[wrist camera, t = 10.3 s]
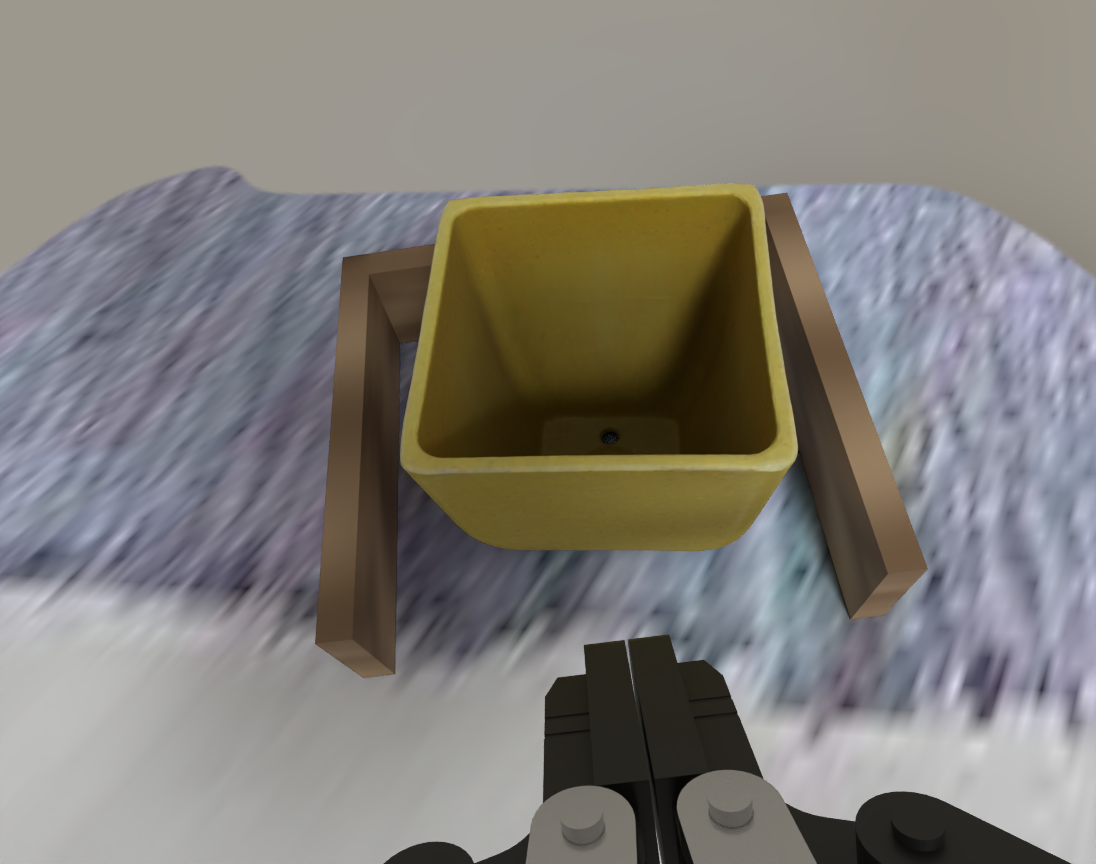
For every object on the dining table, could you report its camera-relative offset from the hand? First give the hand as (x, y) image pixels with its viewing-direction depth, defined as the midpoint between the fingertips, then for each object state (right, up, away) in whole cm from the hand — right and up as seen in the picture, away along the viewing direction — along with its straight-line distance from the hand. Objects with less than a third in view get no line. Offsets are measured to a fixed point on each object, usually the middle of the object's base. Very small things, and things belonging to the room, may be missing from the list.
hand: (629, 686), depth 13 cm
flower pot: (+1, +3, +13) cm, 13 cm away
